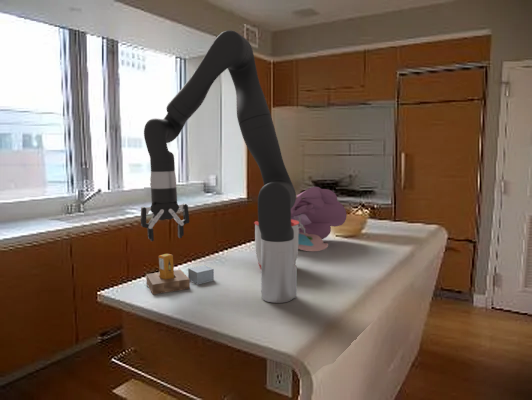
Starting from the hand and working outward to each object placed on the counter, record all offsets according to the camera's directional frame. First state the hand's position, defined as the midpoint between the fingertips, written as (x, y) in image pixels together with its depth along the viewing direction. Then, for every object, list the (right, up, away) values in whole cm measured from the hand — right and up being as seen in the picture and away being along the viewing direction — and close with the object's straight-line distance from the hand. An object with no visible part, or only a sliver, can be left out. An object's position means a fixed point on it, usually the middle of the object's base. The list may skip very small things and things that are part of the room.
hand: (166, 239), depth 124 cm
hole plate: (0, -15, +2) cm, 15 cm away
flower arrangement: (+48, -8, +53) cm, 72 cm away
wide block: (+9, -14, +8) cm, 19 cm away
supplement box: (0, -15, +2) cm, 15 cm away
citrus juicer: (+34, -13, +19) cm, 41 cm away
